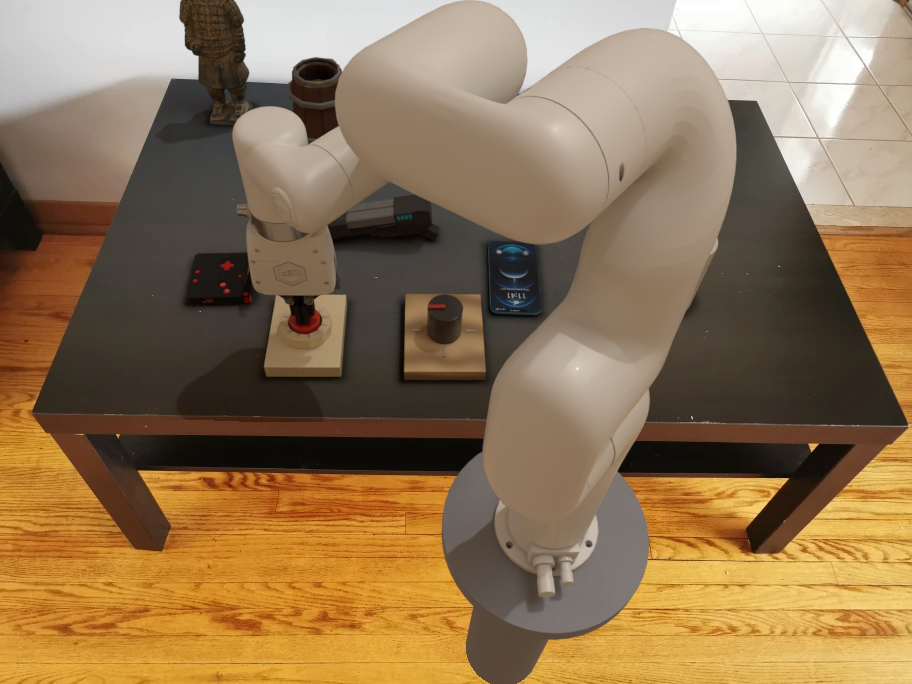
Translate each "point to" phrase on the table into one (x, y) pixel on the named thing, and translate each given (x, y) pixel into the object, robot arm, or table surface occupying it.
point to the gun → (387, 219)
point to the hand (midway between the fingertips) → (304, 316)
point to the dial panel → (443, 359)
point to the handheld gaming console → (220, 279)
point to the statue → (218, 54)
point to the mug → (315, 95)
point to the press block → (307, 341)
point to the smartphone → (513, 278)
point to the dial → (444, 319)
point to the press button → (304, 328)
